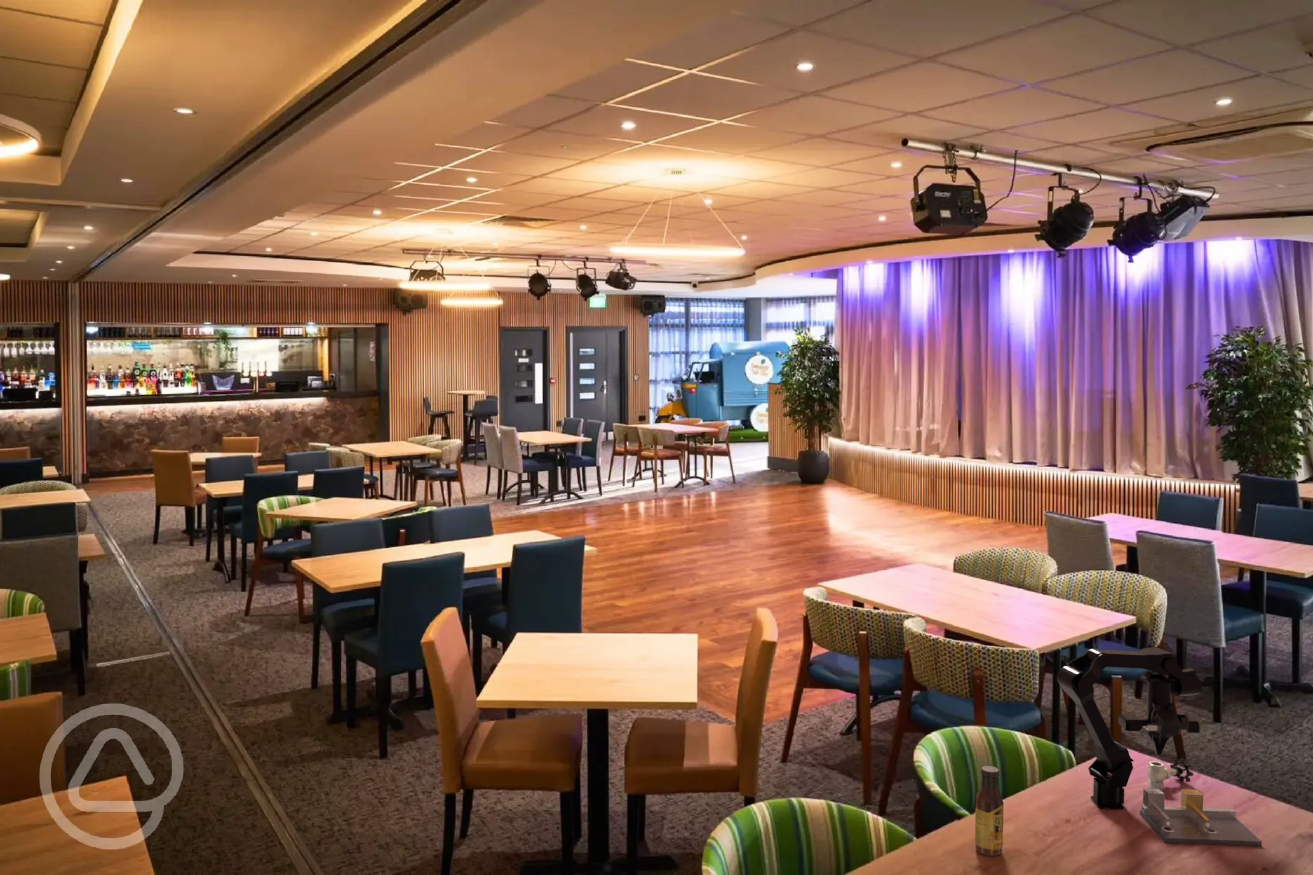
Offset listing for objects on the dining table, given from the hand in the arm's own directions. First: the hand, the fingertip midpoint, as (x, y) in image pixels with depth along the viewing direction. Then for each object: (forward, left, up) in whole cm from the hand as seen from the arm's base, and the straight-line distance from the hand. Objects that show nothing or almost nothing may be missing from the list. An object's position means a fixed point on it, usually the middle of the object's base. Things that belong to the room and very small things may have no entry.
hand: (1158, 754), depth 254 cm
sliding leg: (+4, -15, -11) cm, 19 cm away
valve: (+6, +9, -12) cm, 17 cm away
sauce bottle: (-51, -32, -12) cm, 62 cm away
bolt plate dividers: (+3, -17, -12) cm, 21 cm away
